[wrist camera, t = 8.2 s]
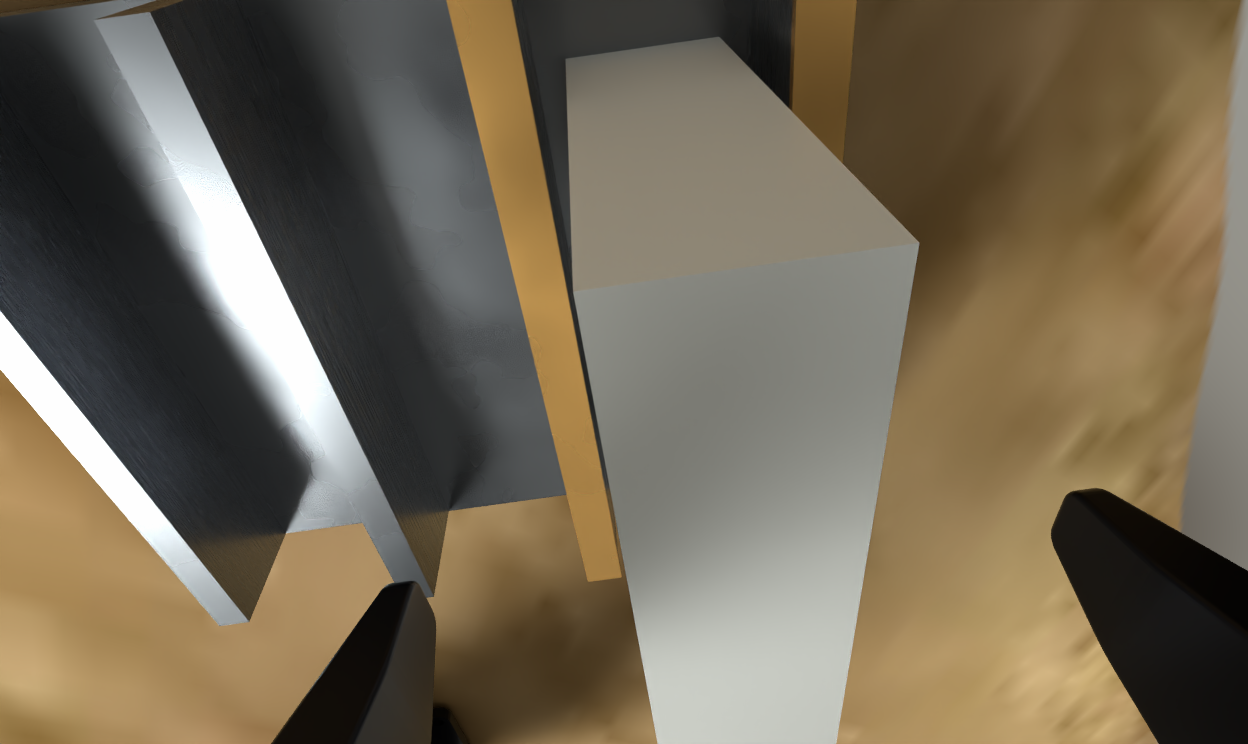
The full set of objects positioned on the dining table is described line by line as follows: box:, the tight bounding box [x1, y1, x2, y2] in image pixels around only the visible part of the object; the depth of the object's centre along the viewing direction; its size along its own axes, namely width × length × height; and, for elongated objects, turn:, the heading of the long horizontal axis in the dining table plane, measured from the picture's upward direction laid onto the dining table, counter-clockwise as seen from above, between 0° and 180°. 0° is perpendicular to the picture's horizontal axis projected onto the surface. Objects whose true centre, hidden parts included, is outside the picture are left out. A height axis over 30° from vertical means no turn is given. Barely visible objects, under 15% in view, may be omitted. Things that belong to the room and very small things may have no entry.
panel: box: [566, 37, 919, 744], centre depth 12 cm, size 10×3×9 cm, turn 7°
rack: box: [0, 0, 857, 626], centre depth 15 cm, size 14×16×4 cm
